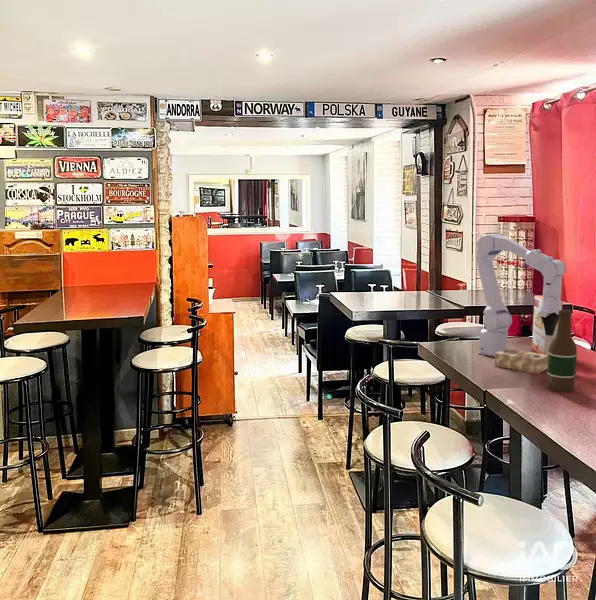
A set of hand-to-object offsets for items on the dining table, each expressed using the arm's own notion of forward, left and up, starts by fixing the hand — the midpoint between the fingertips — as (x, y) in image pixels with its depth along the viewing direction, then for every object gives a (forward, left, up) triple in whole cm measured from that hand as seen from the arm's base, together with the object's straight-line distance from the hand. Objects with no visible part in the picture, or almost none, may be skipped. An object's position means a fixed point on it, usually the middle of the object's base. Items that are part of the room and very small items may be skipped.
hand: (549, 335), depth 223 cm
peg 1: (-10, -9, -10) cm, 17 cm away
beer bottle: (+14, -27, -11) cm, 32 cm away
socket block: (-6, -9, -10) cm, 15 cm away
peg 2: (-2, -9, -10) cm, 14 cm away
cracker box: (-7, +16, -11) cm, 20 cm away
